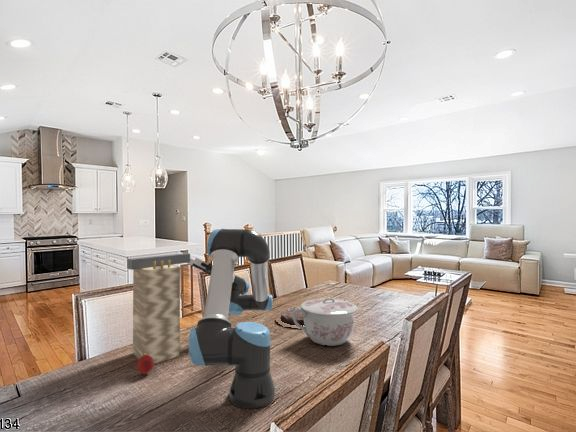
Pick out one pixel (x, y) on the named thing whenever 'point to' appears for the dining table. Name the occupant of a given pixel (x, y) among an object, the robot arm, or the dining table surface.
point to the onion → (145, 364)
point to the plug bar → (157, 260)
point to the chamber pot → (327, 320)
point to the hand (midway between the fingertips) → (188, 258)
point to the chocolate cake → (287, 317)
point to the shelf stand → (156, 312)
